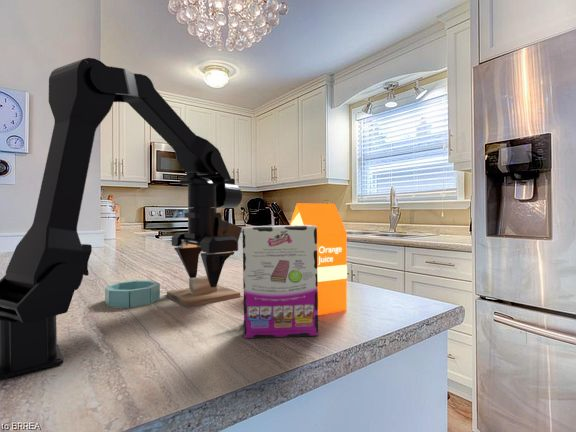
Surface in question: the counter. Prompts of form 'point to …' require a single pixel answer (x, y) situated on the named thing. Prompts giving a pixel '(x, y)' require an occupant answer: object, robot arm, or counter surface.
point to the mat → (197, 305)
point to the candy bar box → (280, 281)
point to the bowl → (132, 293)
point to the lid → (201, 293)
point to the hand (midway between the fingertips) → (202, 283)
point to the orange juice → (327, 254)
